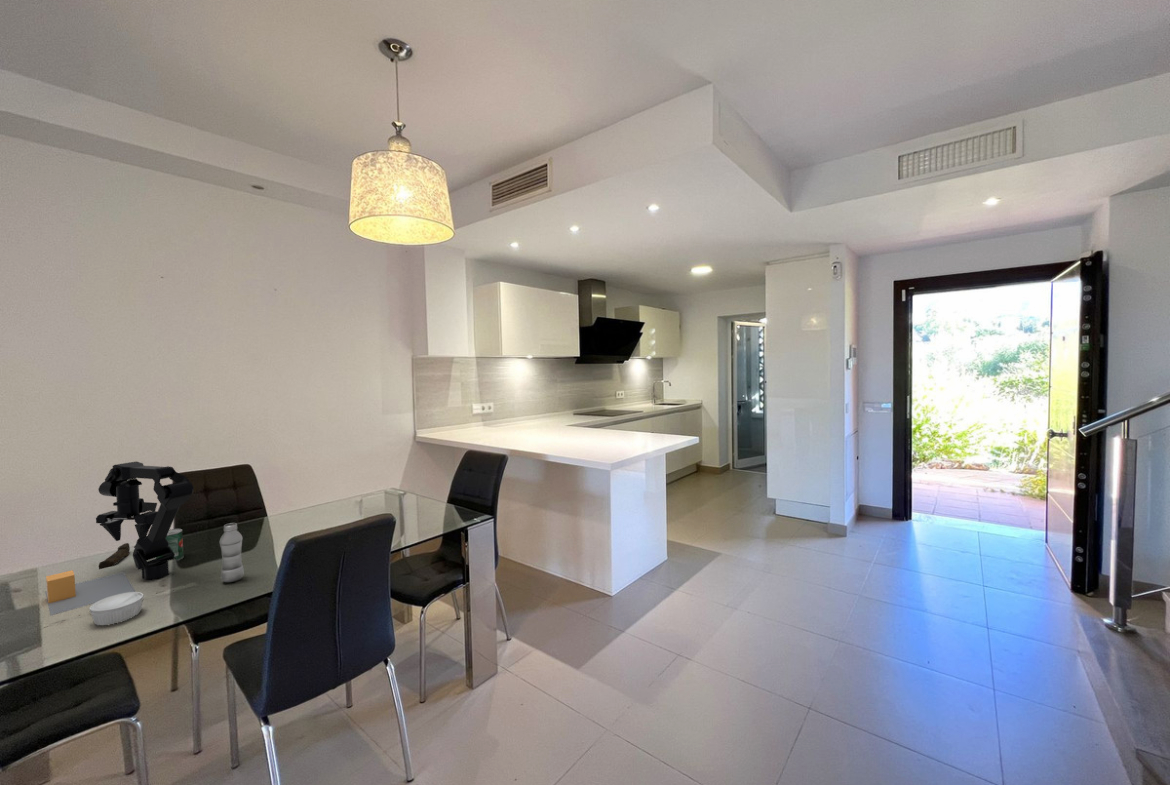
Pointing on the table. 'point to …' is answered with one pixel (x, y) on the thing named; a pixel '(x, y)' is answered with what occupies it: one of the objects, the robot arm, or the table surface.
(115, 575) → the flat grey board
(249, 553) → the table surface
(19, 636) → the table surface
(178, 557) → the canned tomato
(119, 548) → the hand tool
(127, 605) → the ramekin
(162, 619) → the table surface
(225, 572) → the plastic bottle
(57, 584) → the orange cardboard-tone cube
